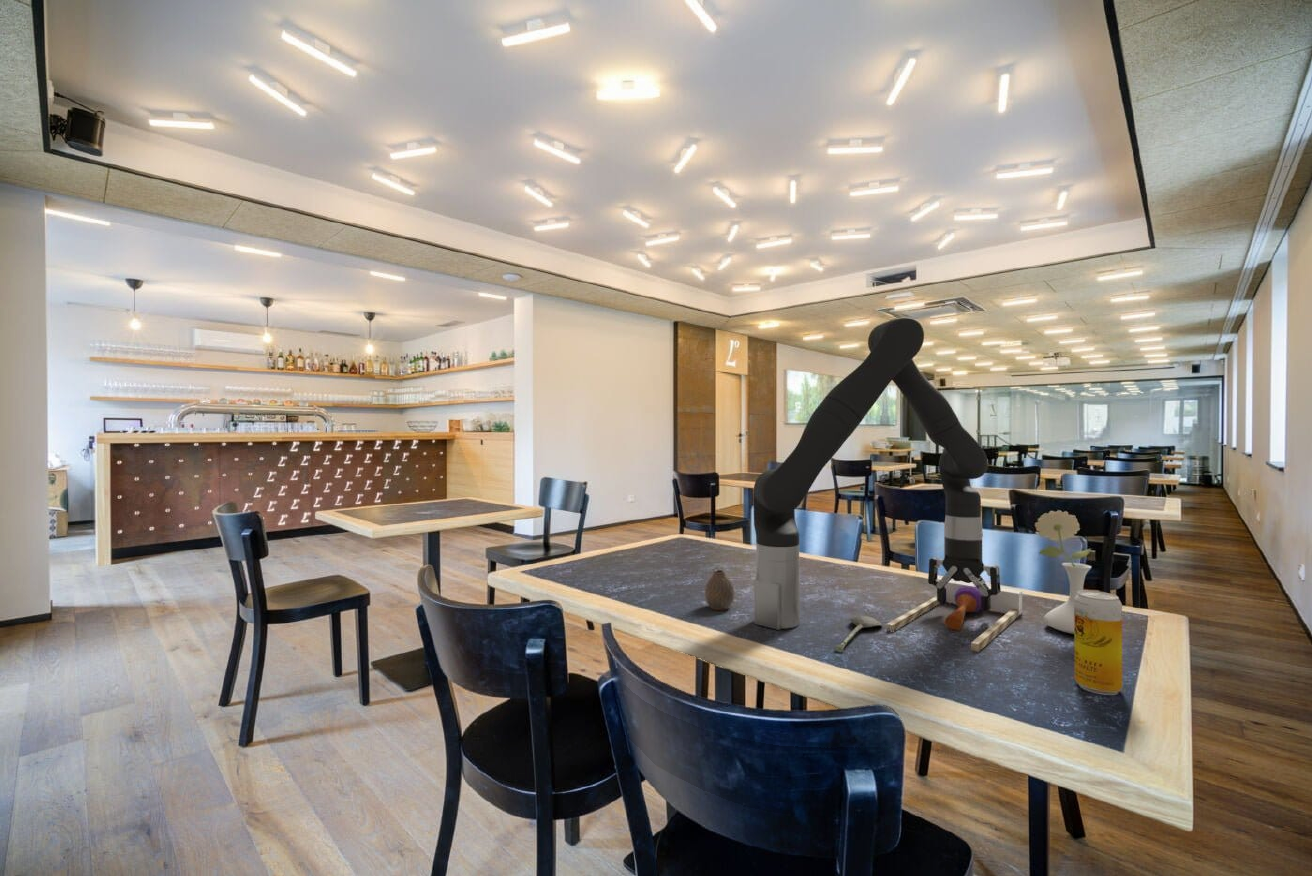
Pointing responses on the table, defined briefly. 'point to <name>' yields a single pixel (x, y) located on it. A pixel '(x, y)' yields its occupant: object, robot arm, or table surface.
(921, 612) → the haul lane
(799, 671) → the table surface
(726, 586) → the vase
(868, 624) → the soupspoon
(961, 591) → the kendama
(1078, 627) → the beer can
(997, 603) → the end stop
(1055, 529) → the flower in vase
